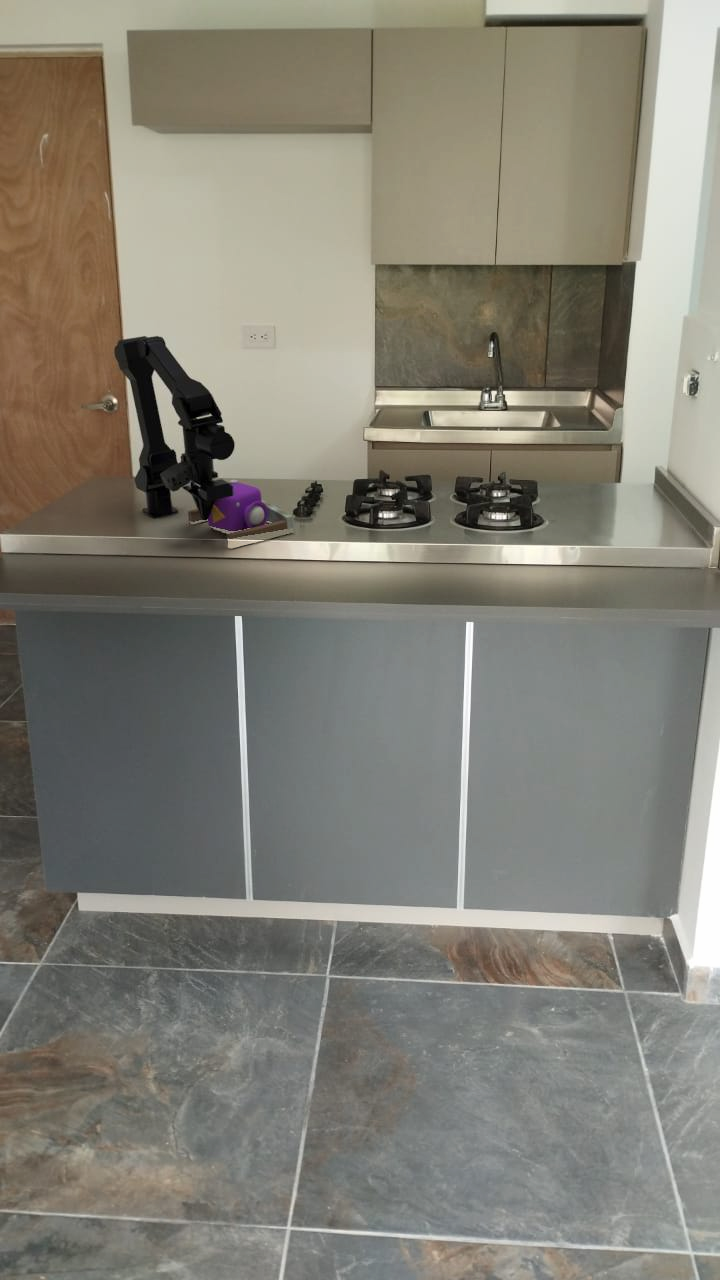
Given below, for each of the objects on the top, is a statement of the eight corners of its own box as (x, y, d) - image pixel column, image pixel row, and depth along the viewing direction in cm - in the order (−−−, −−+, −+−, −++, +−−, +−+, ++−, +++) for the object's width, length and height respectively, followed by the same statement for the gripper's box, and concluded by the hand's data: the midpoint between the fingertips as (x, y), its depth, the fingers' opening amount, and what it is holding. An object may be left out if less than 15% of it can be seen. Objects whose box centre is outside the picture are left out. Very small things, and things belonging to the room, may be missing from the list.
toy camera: (251, 543, 231) (248, 499, 227) (201, 533, 238) (197, 489, 234) (280, 527, 240) (278, 484, 235) (231, 517, 246) (228, 475, 242)
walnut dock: (189, 523, 244) (187, 506, 242) (249, 508, 251) (248, 492, 249) (230, 549, 229) (229, 532, 227) (293, 533, 236) (292, 516, 234)
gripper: (144, 445, 230) (152, 515, 237) (182, 467, 216) (189, 540, 223) (192, 436, 236) (198, 504, 243) (232, 457, 222) (237, 528, 229)
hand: (204, 519), depth 234 cm, fingers closed
